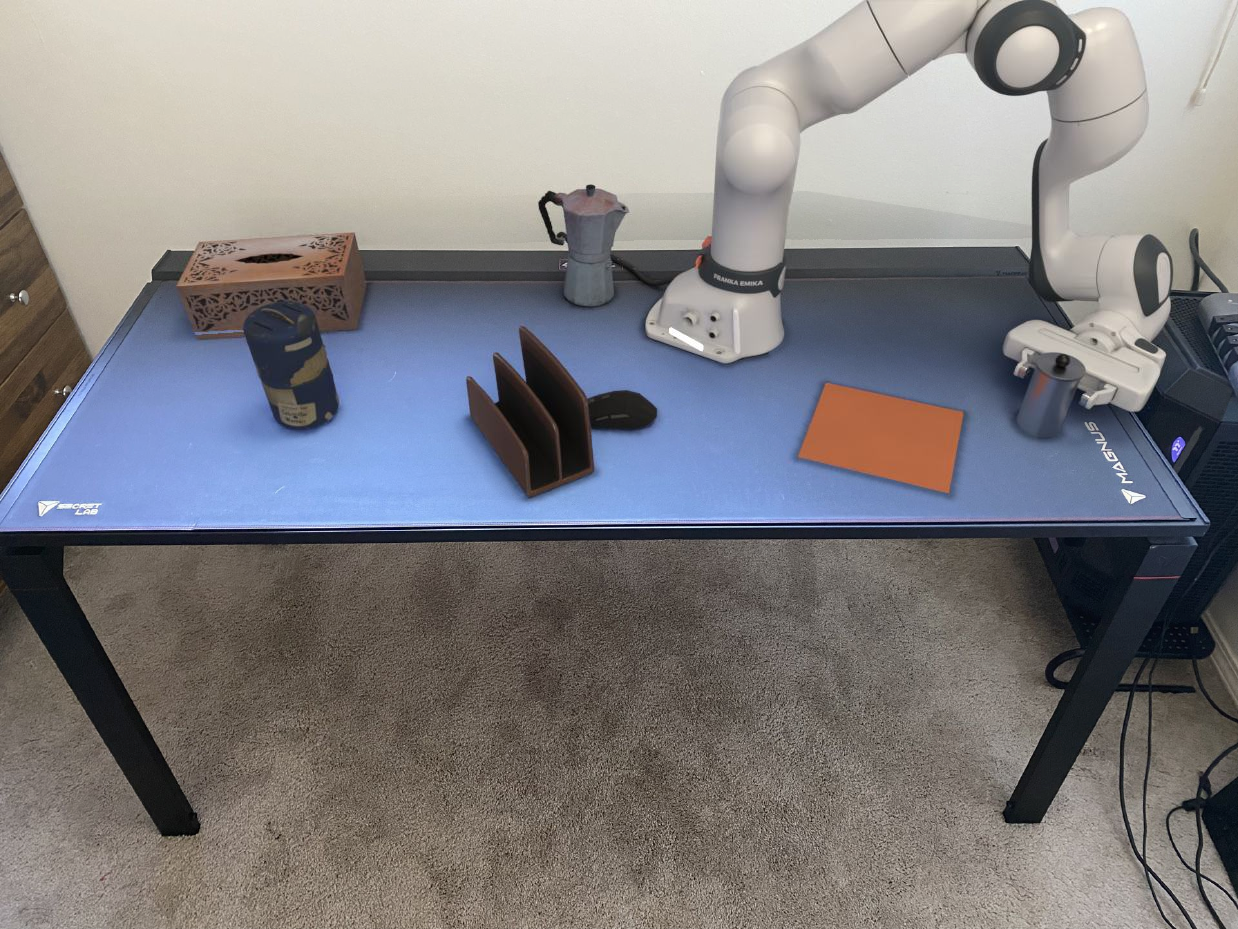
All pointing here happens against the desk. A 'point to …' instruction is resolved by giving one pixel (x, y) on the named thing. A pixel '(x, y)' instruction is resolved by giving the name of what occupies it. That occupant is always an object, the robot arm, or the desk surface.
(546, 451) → the letter holder
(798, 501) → the desk surface
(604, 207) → the moka pot
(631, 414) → the gaming mouse
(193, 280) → the tissue box cover
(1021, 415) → the pot
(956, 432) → the napkin
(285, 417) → the canister
